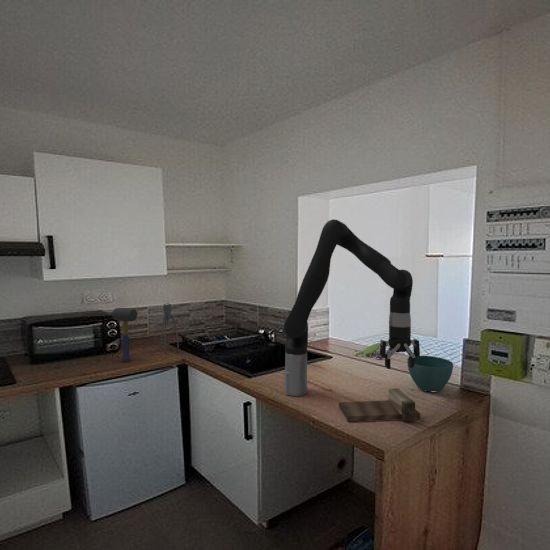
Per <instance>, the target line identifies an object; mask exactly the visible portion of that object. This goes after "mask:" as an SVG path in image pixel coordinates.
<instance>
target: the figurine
mask: <svg viewBox="0 0 550 550" xmlns="http://www.w3.org/2000/svg"><path fill="white" fill-rule="evenodd" d="M389 347H390V345H389V344H388V345H387V348H389ZM379 350H380V342H377V343H373V344H370V345H369V346H367V347H366V348H365V349H363V350H362V351H359V352H358V351H357V349H355V350H354V352H356V355H357V356H359V355H361V354H364V355H365V356H366V355H367V354H368V355H367V356H369V355H372V356H373V353H374V352H375V353H376V354H375V353H374V354H375V355H374V357H376V358H383V357H382V356H380V351H379ZM362 352H363V353H362ZM376 358H375V359H376ZM383 359H384V358H383Z"/></svg>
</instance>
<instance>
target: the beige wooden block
mask: <svg viewBox="0 0 550 550" xmlns="http://www.w3.org/2000/svg"><path fill="white" fill-rule="evenodd" d="M387 400H388V402H389V403H390V404H391V405H392V406H393V407H394V408H395V409H396V410H397V411H398V412H399V413H400V414H401V419H402V420H401V421H403V422H415V421H416V419H415V409H416V402H415V401H414V400H413V399H412V398H410V397H409V395H407V394H406V393H404V391H403V390H402V389H400V388H388V399H387Z"/></svg>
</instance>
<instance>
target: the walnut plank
mask: <svg viewBox="0 0 550 550" xmlns="http://www.w3.org/2000/svg"><path fill="white" fill-rule="evenodd" d="M338 408H339V410H340V411H342V412H341V413H342V415H343V414H344V415H343V416H344V418H345V417H346V418H345V419H347V420H346V421H347V422H348V421H361V422H370V421H369V420H383V421H394V420H393V419H401V414H400V413H399V412H398V411H397V410H396V409H395V408H394V407H393V406H392V405H391V404H390V403H389V402H388V399H387V400H368V401H363V400H362V401H347V402H346V401H344V402H338ZM415 418H420V419H421V413H420V412H419V411H418V410H417V409H416V408H415Z"/></svg>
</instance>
